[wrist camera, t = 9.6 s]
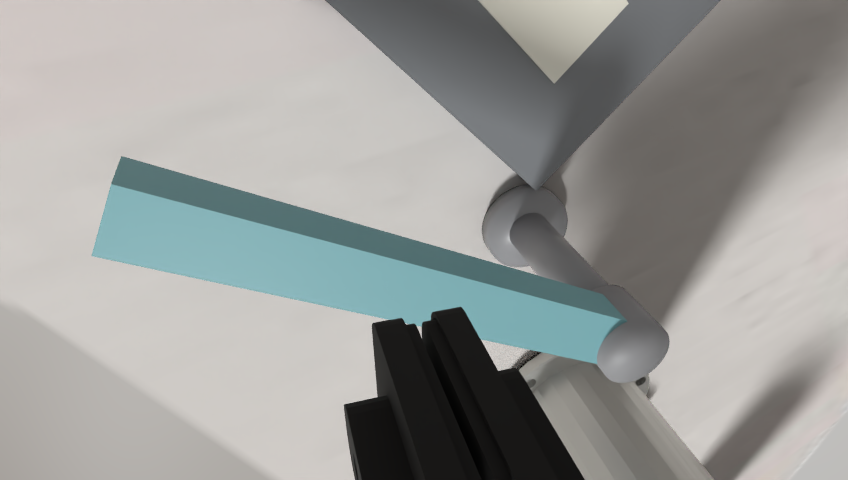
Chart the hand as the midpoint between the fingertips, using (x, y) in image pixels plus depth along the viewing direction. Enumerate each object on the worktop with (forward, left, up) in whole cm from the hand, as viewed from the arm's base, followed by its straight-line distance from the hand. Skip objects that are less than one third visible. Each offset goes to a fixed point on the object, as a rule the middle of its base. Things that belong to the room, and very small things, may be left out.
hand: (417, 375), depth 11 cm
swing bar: (-6, +1, -11) cm, 13 cm away
